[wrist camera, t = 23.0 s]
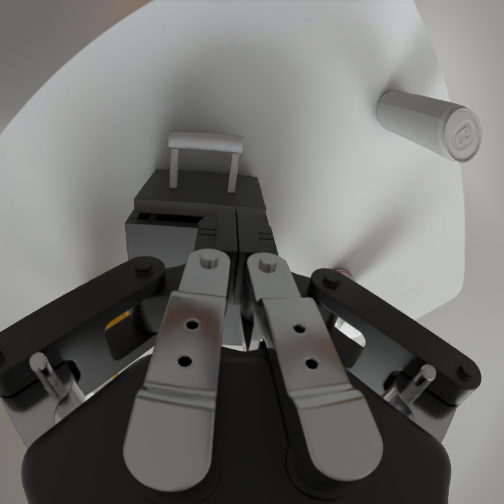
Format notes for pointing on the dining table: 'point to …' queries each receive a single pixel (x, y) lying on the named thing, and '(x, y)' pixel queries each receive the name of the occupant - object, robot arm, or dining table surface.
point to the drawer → (199, 184)
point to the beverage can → (432, 124)
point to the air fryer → (174, 255)
